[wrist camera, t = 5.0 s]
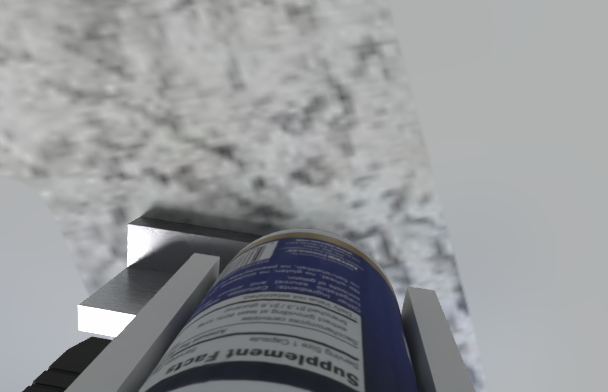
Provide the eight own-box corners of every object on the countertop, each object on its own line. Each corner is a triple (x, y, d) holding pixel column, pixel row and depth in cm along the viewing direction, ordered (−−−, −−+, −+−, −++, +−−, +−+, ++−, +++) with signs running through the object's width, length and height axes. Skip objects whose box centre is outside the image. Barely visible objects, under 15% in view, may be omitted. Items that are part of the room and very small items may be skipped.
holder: (139, 217, 27) (76, 254, 21) (270, 237, 26) (246, 281, 20) (136, 412, 31) (83, 492, 25) (250, 434, 31) (224, 521, 24)
